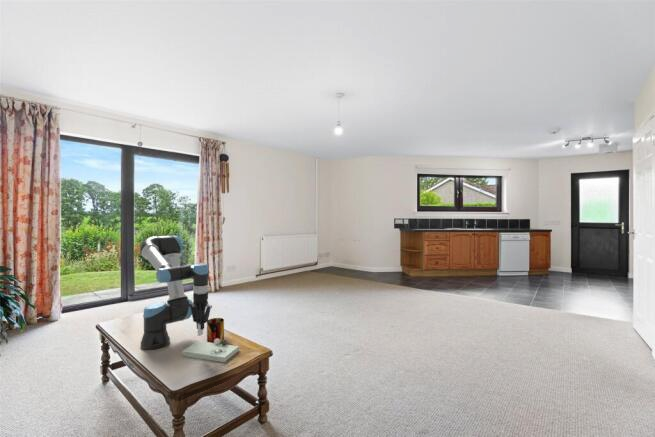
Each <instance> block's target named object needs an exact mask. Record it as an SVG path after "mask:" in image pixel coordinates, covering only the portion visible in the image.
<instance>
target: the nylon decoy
mask: <svg viewBox="0 0 655 437" xmlns="http://www.w3.org/2000/svg"><path fill="white" fill-rule="evenodd" d="M214 343H215V344H221V342H220V339H218V338H216V339H215V340H214Z"/></svg>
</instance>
